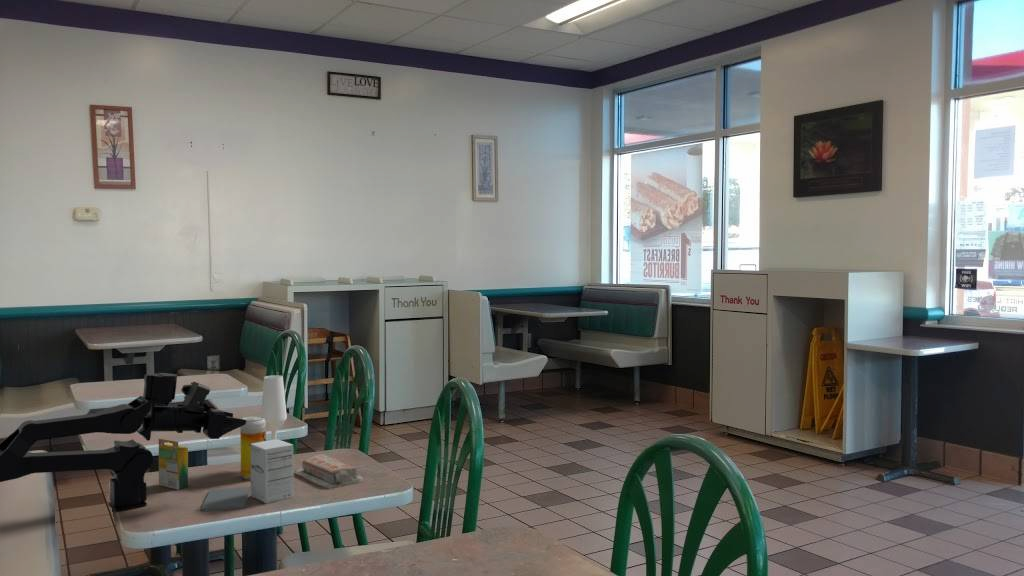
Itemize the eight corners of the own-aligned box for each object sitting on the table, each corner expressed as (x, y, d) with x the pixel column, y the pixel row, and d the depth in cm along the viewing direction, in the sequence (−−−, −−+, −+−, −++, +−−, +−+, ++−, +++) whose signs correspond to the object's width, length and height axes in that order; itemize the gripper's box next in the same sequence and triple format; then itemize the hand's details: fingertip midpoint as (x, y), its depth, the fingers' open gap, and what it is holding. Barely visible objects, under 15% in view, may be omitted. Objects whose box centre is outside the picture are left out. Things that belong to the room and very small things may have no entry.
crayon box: (189, 487, 192) (188, 439, 191) (178, 490, 189) (177, 442, 188) (169, 482, 195) (168, 435, 195) (158, 485, 193) (157, 438, 192)
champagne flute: (285, 462, 214) (284, 374, 213) (289, 468, 208) (288, 378, 207) (259, 464, 211) (258, 375, 210) (262, 471, 205) (261, 379, 204)
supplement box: (249, 496, 184) (249, 443, 184) (279, 490, 190) (278, 438, 189) (264, 504, 179) (264, 449, 179) (294, 497, 184) (294, 443, 184)
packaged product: (364, 464, 197) (328, 471, 190) (364, 483, 197) (328, 491, 191) (328, 450, 210) (293, 456, 204) (328, 468, 211) (293, 475, 204)
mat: (201, 510, 174) (201, 508, 174) (210, 491, 188) (210, 489, 188) (244, 508, 176) (243, 505, 176) (250, 489, 190) (250, 487, 190)
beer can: (261, 480, 198) (260, 420, 197) (237, 479, 198) (236, 420, 197) (269, 473, 204) (268, 415, 203) (245, 473, 204) (245, 415, 203)
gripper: (187, 389, 175) (256, 391, 185) (165, 378, 190) (230, 380, 200) (182, 440, 175) (251, 438, 185) (159, 424, 190) (225, 424, 199)
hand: (239, 418), depth 192 cm, fingers open, 9 cm apart
